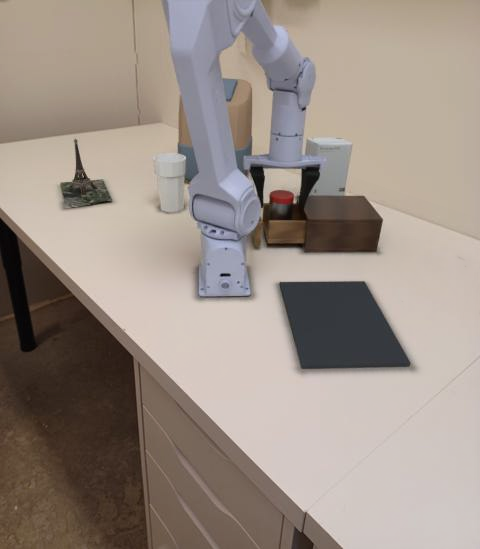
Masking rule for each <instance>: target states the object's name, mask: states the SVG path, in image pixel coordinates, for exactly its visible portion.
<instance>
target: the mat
mask: <svg viewBox="0 0 480 549" xmlns="http://www.w3.org/2000/svg"><path fill="white" fill-rule="evenodd" d="M279 288H280V292H281V295H282V299H283V303H284V307H285V311H286V314H287V317H288V322H289V325H290V329H291V333H292V336H293V341H294V343H295V347H296V351H297V355H298V359H299V362H300V367H301V369H305V370H306V369H307V370H308V369H309V370H310V369H344V368H345V369H346V368H391V367H392V368H393V367H395V368H396V367H410V366H411V361H410V359H409V358H408V356H407V354H406V352H405V350H404V348H403V347H402V345H401V343H400V341H399V340H398V338H397V336H396V334H395V333H394V331H393V329H392V327H391V326H390V324H389V322H388V320H387V318H386V317H385V315H384V313H383V311H382V310H381V308H380V306H379V304H378V303H377V301H376V299H375V297H374V295H373V294H372V292H371V290H370V289H369V286H368V285H367V284H366V281H365V280H353V281H352V280H349V281H348V280H347V281H346V280H345V281H343V280H342V281H341V280H340V281H338V280H337V281H336V280H335V281H334V280H333V281H279Z"/></svg>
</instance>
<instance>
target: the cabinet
mask: <svg viewBox="0 0 480 549" xmlns="http://www.w3.org/2000/svg"><path fill="white" fill-rule="evenodd" d="M299 195H300V194H297V195H296V200H295V203H299ZM301 210H302V212H303V214H304V216H305V218H306V220H307V225H306V234H305V243H300V244H301V247H302V249H303V252H304V253H377V251H378V247H379V242H380V237H381V231H382V227H383V224H384V219H383V217H382V215H380V213H379V212H378V211H377V210H376V208H375V207H374V206H373V205H372V203H371V202H370V201H369V200H368V198H367V197H366V196H365V195H344V196H332V195H309V196H308V198H307V201H306V204H305V207H304V208H301Z"/></svg>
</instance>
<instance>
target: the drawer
mask: <svg viewBox="0 0 480 549" xmlns="http://www.w3.org/2000/svg"><path fill="white" fill-rule="evenodd" d="M268 215H269V202H263V208H262V216H261V215H260V218H259V221H258V224H257V226H256V227H255V229H254V230H253V231H252V232H251V237H252V241H253V246H254V247H261V246H262V237H263V236H262V232H263V231H264V235H265V238H266V242H267V244H301V243H305V234H306V225H307V220H306V218H305V216H304V214H303V212H302V210H301V208H300V206H299V203H296V202H293V210H292V220H269V223H268Z"/></svg>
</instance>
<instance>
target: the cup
mask: <svg viewBox="0 0 480 549" xmlns="http://www.w3.org/2000/svg"><path fill="white" fill-rule="evenodd" d="M152 160H153V169H154V173H155V175H156V180H157V190H158V198H159V209H160V210H161V212H166V213H179V212H181V211H182V210H184V209H185V205H184V204H185V180H184V176H185V172H186V157H185V156H184V155H181V154H178V153H176V152H165V153H164V152H163V153H159V154H156V155H154V156H153V158H152Z"/></svg>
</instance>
